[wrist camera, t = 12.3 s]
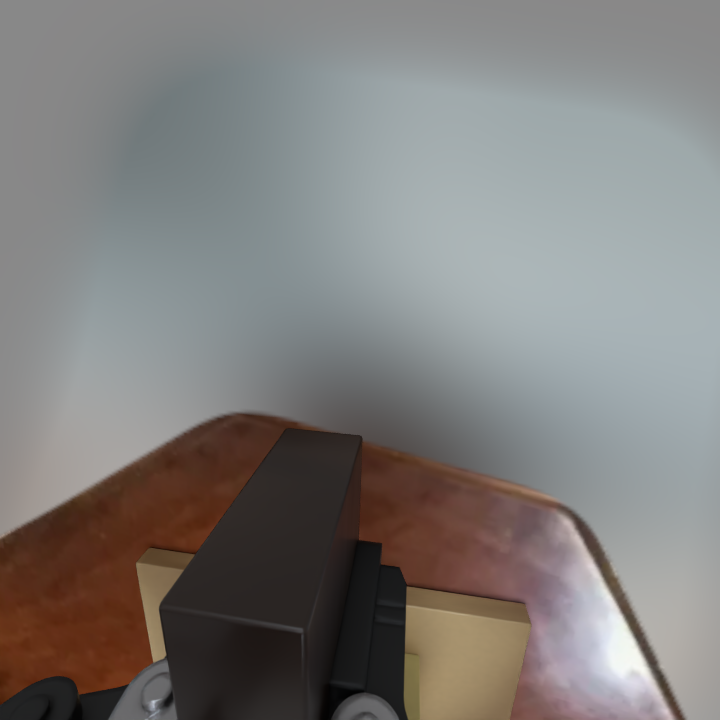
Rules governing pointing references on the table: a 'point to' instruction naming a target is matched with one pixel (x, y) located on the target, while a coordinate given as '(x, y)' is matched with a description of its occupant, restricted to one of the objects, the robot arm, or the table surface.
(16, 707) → the robot arm
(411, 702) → the butter pat
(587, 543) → the table surface
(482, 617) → the board
